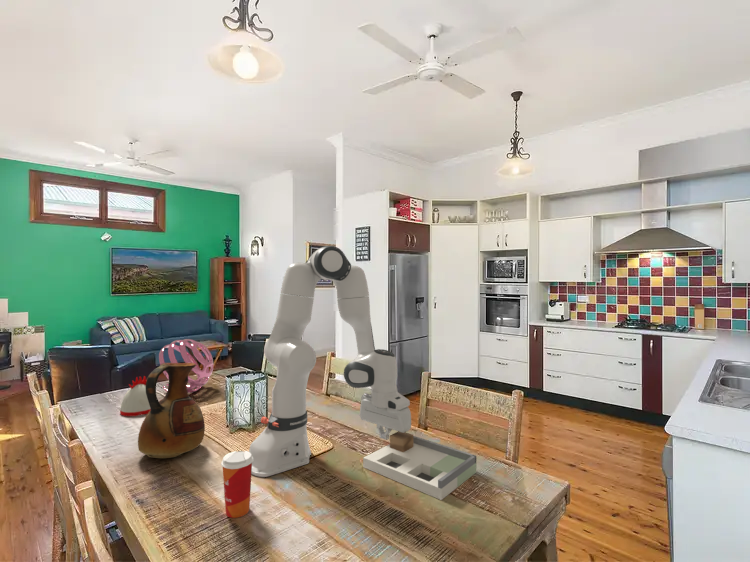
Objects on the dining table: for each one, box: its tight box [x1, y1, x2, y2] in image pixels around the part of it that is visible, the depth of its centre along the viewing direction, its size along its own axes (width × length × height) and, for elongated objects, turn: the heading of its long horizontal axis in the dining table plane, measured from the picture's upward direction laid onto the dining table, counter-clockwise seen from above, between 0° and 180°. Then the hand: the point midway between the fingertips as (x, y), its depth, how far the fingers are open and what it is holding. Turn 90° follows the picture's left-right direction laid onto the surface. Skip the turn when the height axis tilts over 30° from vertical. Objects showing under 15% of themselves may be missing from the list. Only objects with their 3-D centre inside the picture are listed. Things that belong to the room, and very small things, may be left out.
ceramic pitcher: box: [137, 362, 206, 459], centre depth 136 cm, size 20×20×30 cm
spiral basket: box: [158, 338, 214, 394], centre depth 206 cm, size 28×28×27 cm
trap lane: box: [362, 435, 477, 501], centre depth 123 cm, size 20×28×5 cm
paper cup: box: [220, 450, 253, 519], centre depth 101 cm, size 8×8×14 cm
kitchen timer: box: [119, 375, 151, 417], centre depth 177 cm, size 14×14×15 cm
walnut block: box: [389, 431, 414, 452], centre depth 132 cm, size 6×6×4 cm
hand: (384, 438), depth 137 cm, fingers closed
